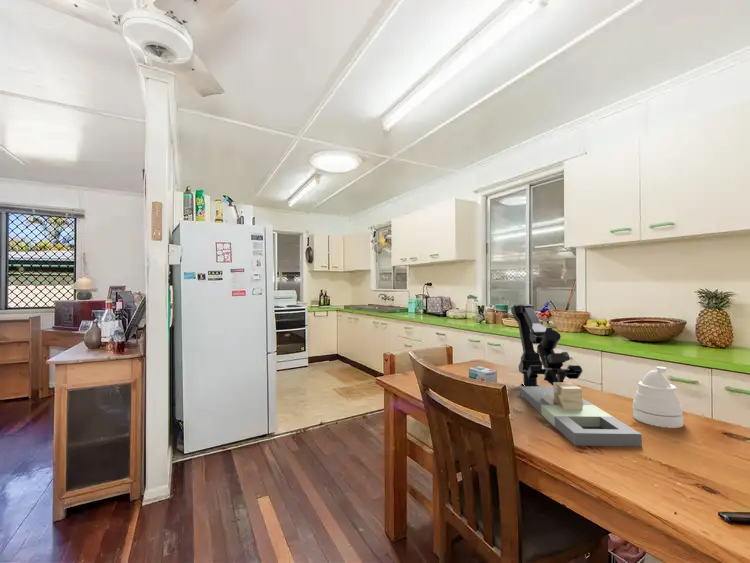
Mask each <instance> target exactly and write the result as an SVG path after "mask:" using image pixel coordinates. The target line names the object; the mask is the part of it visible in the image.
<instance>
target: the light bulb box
mask: <svg viewBox="0 0 750 563" xmlns="http://www.w3.org/2000/svg"><path fill="white" fill-rule="evenodd" d="M469 378H471V379H476V380H481V381H486V382H494V383H497V384H498V372H497V370H495V369H491V368H488V367H484V366H480V365H479V366H473V367H468V379H469Z"/></svg>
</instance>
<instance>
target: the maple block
mask: <svg viewBox="0 0 750 563" xmlns="http://www.w3.org/2000/svg"><path fill="white" fill-rule="evenodd" d="M552 386H553V388H554V402H555V403H557V404H558V405H559V406H561V407H562V408H563V409H583V407H582V398H583V389H582V387H581V386H580V387H579V386H578V385H576V384H574V383H572V382H571V381H570V382H569V381H563V382H553V385H552Z"/></svg>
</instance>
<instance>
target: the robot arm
mask: <svg viewBox="0 0 750 563" xmlns="http://www.w3.org/2000/svg"><path fill="white" fill-rule="evenodd" d="M510 308H511V309H510V311H511V314H512V318H513V320H515V322H516V323H517V325H518V330H519V336H520V342H521V346H522V347H521V348H522V354H521V356H520V362H519V364H518V372H519V373H520V374H522V376H523V377H522V378H523V379H522V380H523V381H522V382H523V383H524V385H525V386H540V385H538V377H539V375H543V376H544V377H543V380H544V382H545V381H546V382H548V384H551V386H553V382H564V380H565V378H568V379H569V380H573V379H574V380H575V379H577V380H578V379H579V378H580V376H581V374H582V373H583V368H582V367H581V366H580V365H579V364H568V366H567V368H562V367H563V366H564V364H563V363H566V362H569V361H570V359H571V357H570V355H569V352H568V351H562V352H560V353H559V352H558V353H557V352H555V349H556V348H557V346H558V344H559V342H560V340H561V337H562V336H561V334H560V333H559V332H558V331H557V330H554V329H553V328H552V327H546V326H544V325H542V323H541V322H540V320H539V317H538V315H537V314H536V312H535V308H534V305H532V304H530V303H529V304H526V303H525V304H522V303H521V304H513V306H511V307H510ZM534 345H537V346H536V351H535V347H534Z"/></svg>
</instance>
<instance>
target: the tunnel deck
mask: <svg viewBox="0 0 750 563" xmlns="http://www.w3.org/2000/svg"><path fill="white" fill-rule="evenodd" d="M520 394H521V395H522V396H523V397H524V398H525V399H526V400H527V401H528V402H529V403H530V404H531V405H530V404H529V403H528V402H527V401H526V400H525V399H524V398H523V397H522V396H521V395H520ZM519 395H520V396H521V397H522V398H523V399H524V400H525V401H526V402H527V403H528V404H529V405H530V406H531V407H533V408H534V409H535V410H536V411H537V412H538V413H539V414H540V415H541V416H542V417H543V418H544V419H546V420H547V421H548V422H549V423H550V424H551V425H552V426H553V427H555V429H556V430H558V431H559V433H561V434H562V435H563V436H564V437H565V438H566V439H568V441H570V442H571V444H573V445H574V446H576V447H577V446H578V447H579V446H587V447H588V446H590V447H591V446H593V447H596V446H597V447H641V448H642V447H643V442H642V441H643V440H642V433H641V432H639V431H637V430H636V429H634V428H632V427H630V426H629V425H627V424H626V423H624V422H622V421H621V420H620V419H617V418H616V417H614V416H613V415H611V414H609V413H608V412H606V410H605V411H604V410H603V409H601V408H599V407H598V406H596V405H595V404H593V403H591V402H589V401H588V400H586V399H585V398H583V397H582V407H583V409H563V408H562V407H561V406H559V405H558V404H557V403H555V402H554V388H553V385H550V386H544V385H543V386H540V385H539V386H523V385H522V386H519Z"/></svg>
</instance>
